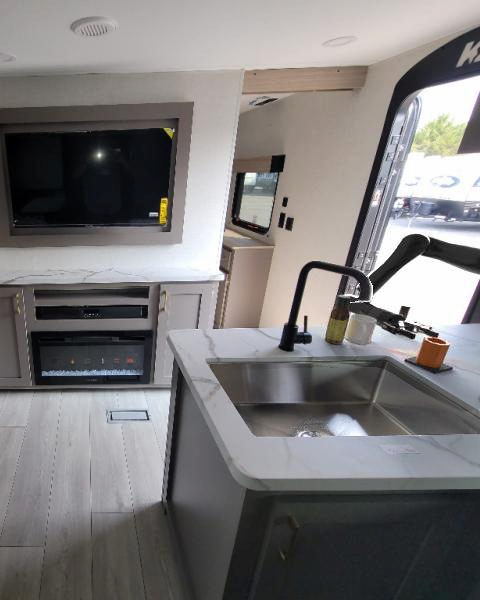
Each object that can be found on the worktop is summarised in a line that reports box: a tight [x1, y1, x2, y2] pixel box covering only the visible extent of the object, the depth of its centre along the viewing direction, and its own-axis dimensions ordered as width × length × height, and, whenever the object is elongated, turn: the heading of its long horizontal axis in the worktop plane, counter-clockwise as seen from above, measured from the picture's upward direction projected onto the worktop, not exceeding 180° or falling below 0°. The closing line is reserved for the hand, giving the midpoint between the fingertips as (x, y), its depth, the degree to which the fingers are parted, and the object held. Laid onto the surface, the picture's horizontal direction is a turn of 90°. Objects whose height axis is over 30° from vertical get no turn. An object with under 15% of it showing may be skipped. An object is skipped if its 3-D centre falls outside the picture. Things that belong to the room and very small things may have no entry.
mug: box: [344, 313, 377, 346], centre depth 132 cm, size 12×8×10 cm
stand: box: [398, 303, 412, 321], centre depth 138 cm, size 7×7×13 cm
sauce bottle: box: [324, 294, 351, 345], centre depth 132 cm, size 7×6×20 cm
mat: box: [404, 355, 454, 375], centre depth 117 cm, size 9×9×1 cm
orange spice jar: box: [415, 336, 451, 368], centre depth 115 cm, size 6×6×9 cm
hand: (425, 336), depth 117 cm, fingers open, 8 cm apart
